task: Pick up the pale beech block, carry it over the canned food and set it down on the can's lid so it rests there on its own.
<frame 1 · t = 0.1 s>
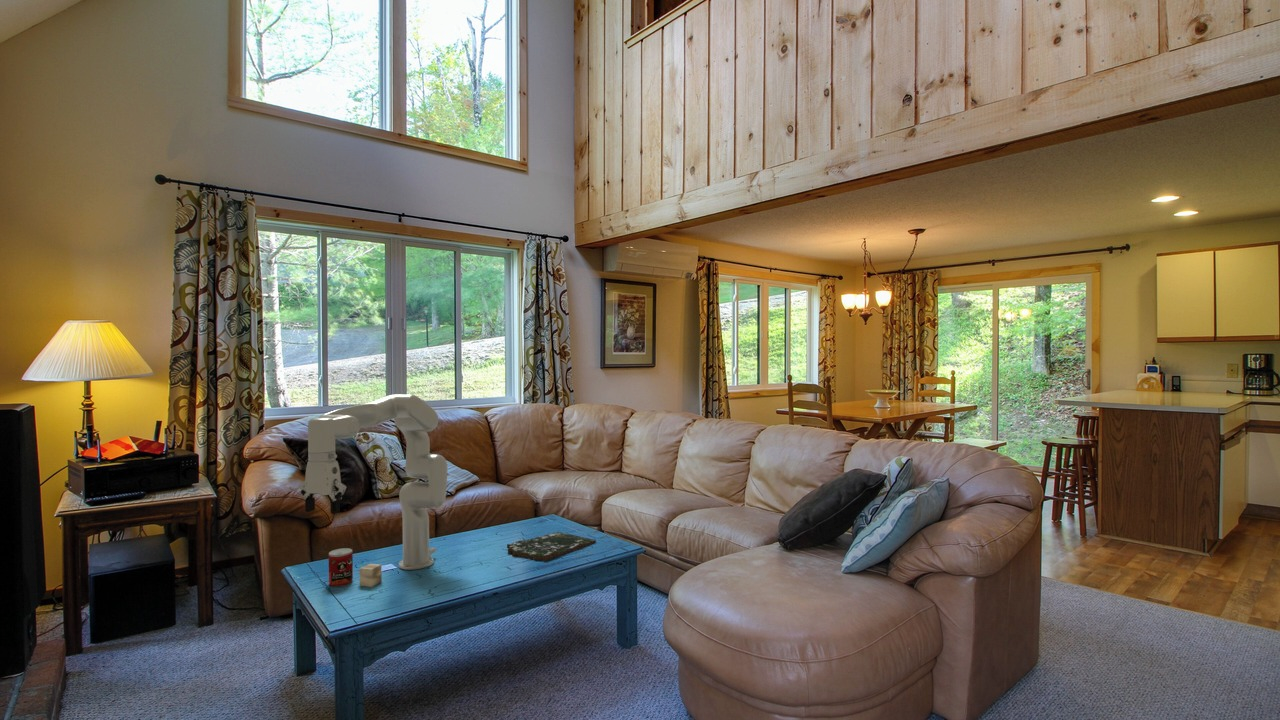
hand: (322, 511, 189), 31 cm above the table, fingers open, 9 cm apart
beech block: (370, 583, 213), on the table
topographical map: (546, 548, 253), on the table
canned food: (341, 583, 214), on the table
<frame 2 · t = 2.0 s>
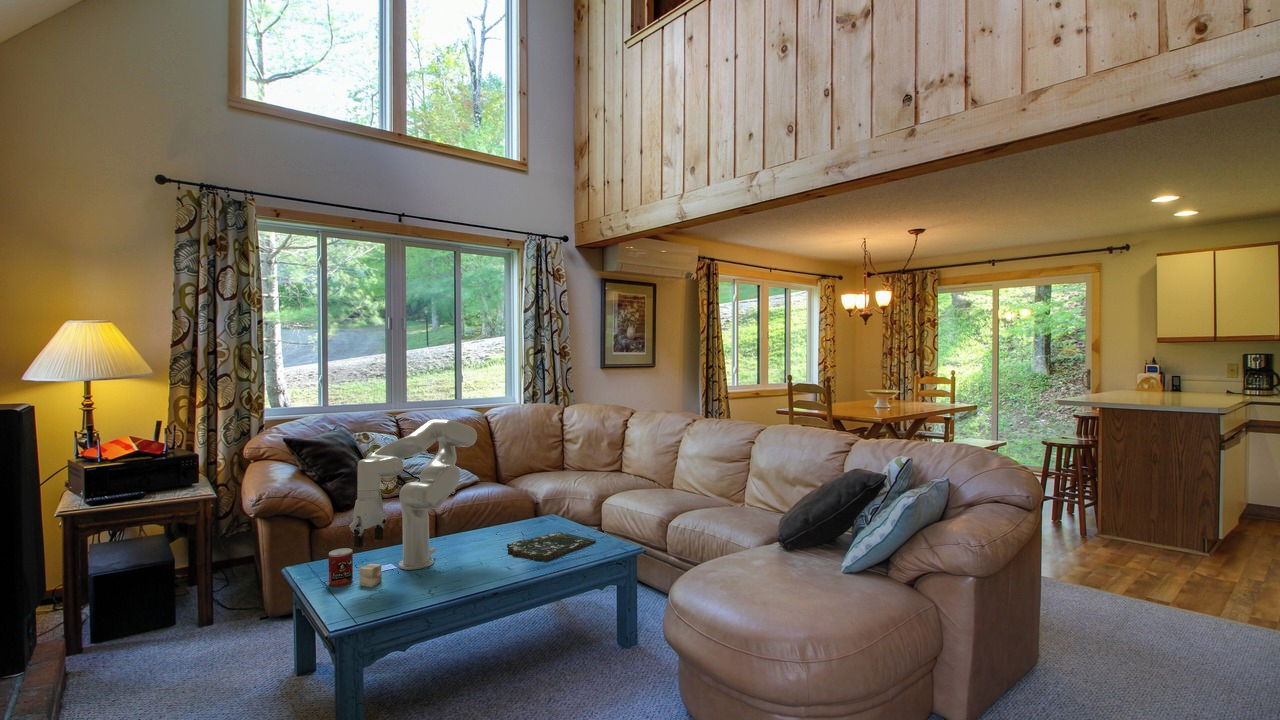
hand: (368, 543, 213), 14 cm above the table, fingers open, 9 cm apart
nothing on the table moved.
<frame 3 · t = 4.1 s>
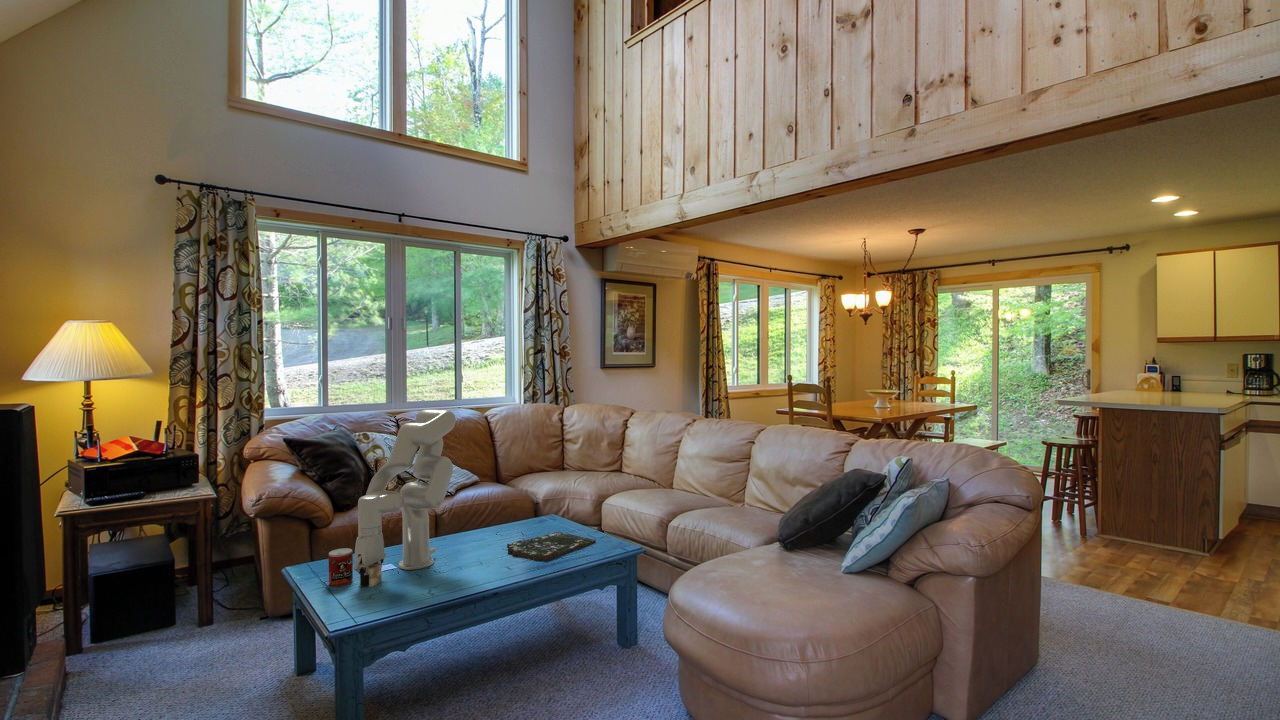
hand: (370, 582, 213), 0 cm above the table, fingers closed on beech block, 5 cm apart
beech block: (370, 583, 213), on the table, touching gripper
everything else where it was.
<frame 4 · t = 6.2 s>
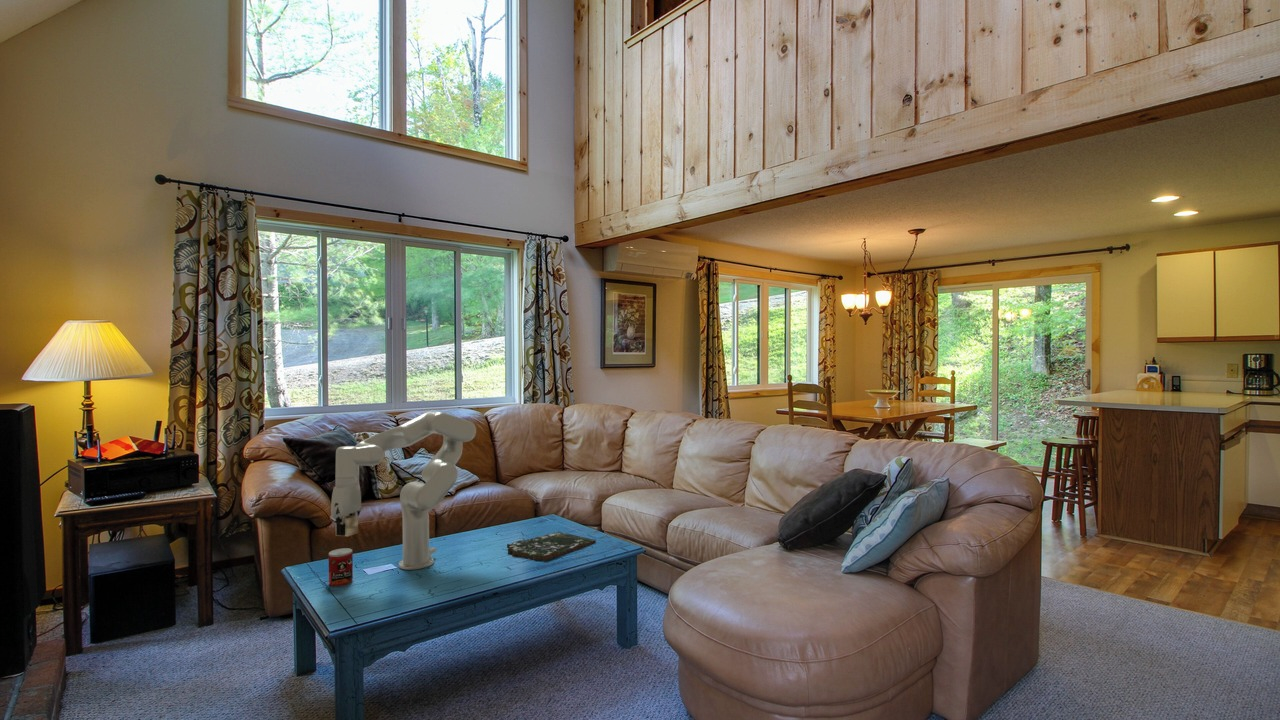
hand: (346, 532, 214), 18 cm above the table, fingers closed on beech block, 5 cm apart
beech block: (346, 534, 214), point 17 cm above the table, touching gripper
everything else where it was.
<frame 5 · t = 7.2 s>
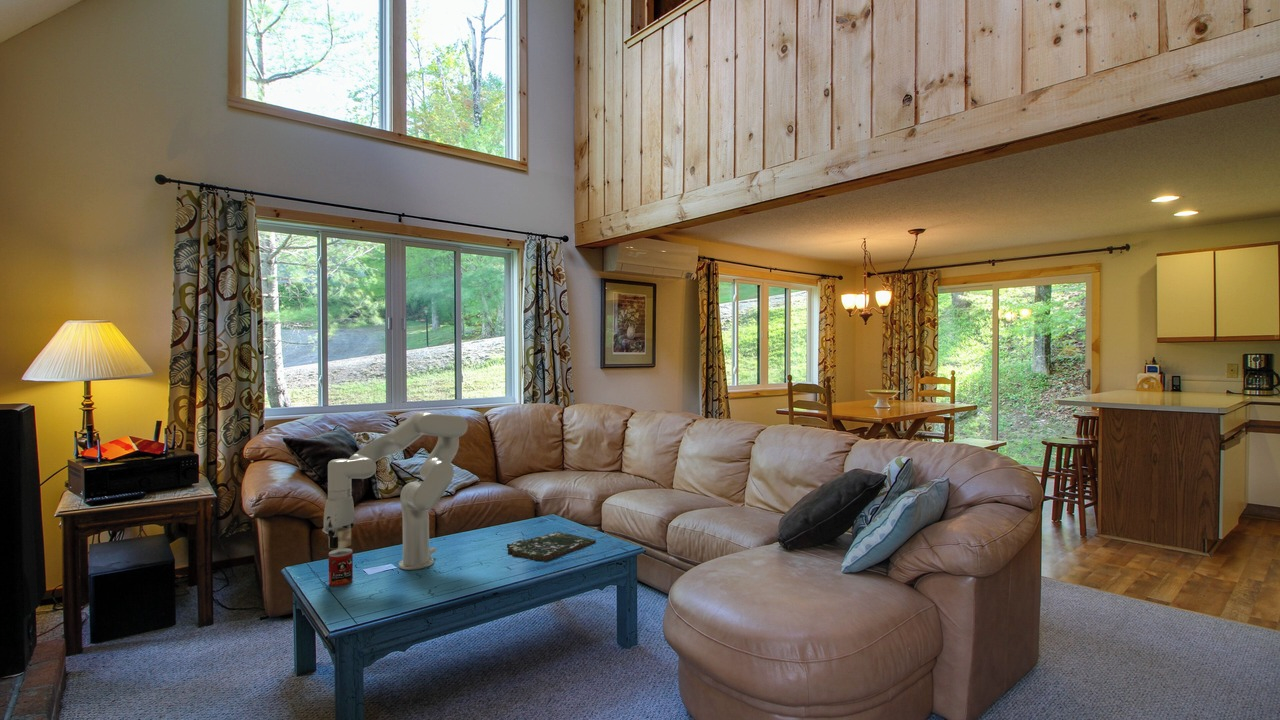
hand: (340, 545, 214), 13 cm above the table, fingers closed on beech block, 5 cm apart
beech block: (340, 546, 214), point 13 cm above the table, touching gripper
everything else where it was.
when the fingers open (13 cm above the table, at t = 8.1 s): beech block drops 1 cm, resting on canned food.
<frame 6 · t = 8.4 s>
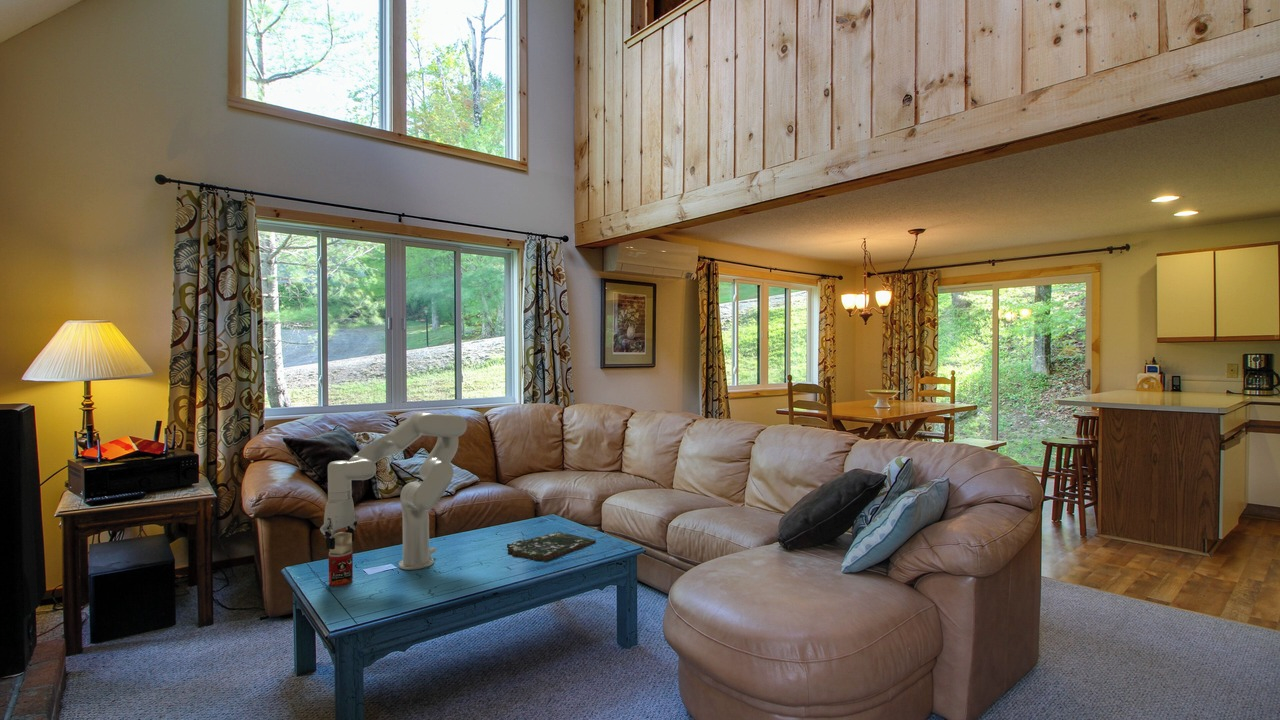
hand: (340, 544, 214), 13 cm above the table, fingers open, 8 cm apart
beech block: (340, 551, 214), point 11 cm above the table, touching canned food
canned food: (340, 583, 214), on the table, touching beech block
everything else where it was.
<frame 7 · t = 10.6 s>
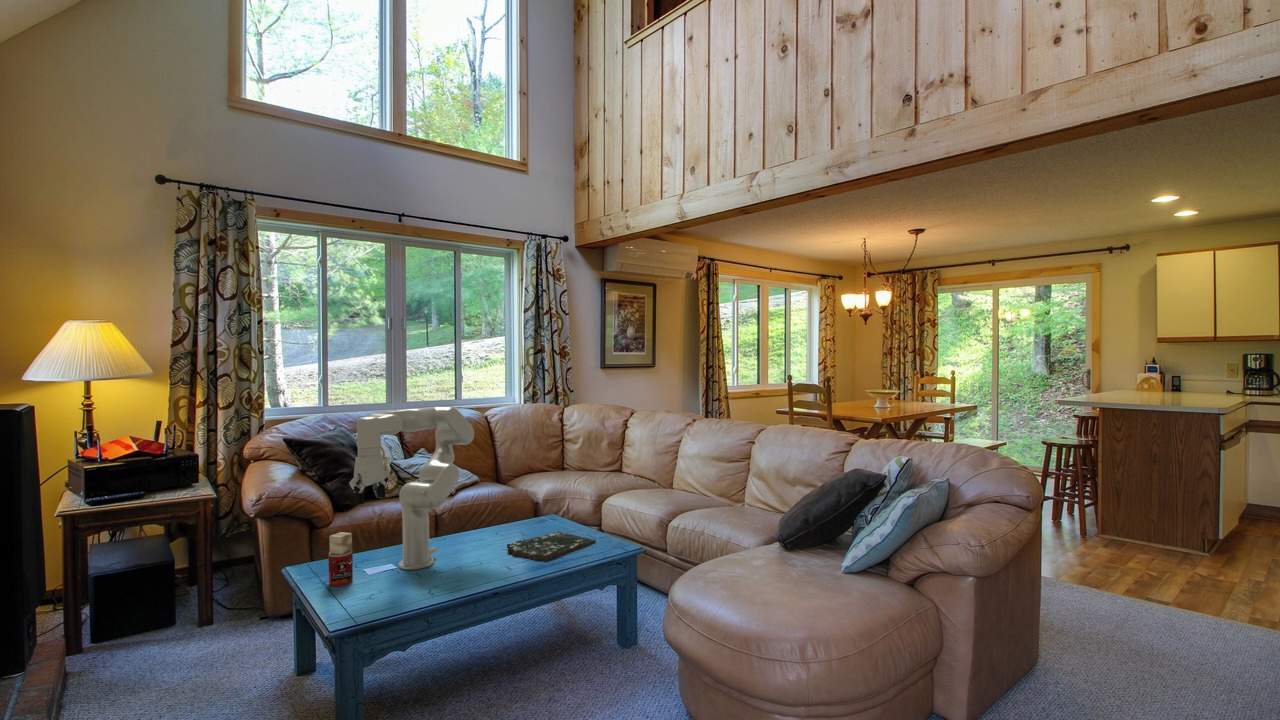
hand: (370, 500, 213), 29 cm above the table, fingers open, 9 cm apart
nothing on the table moved.
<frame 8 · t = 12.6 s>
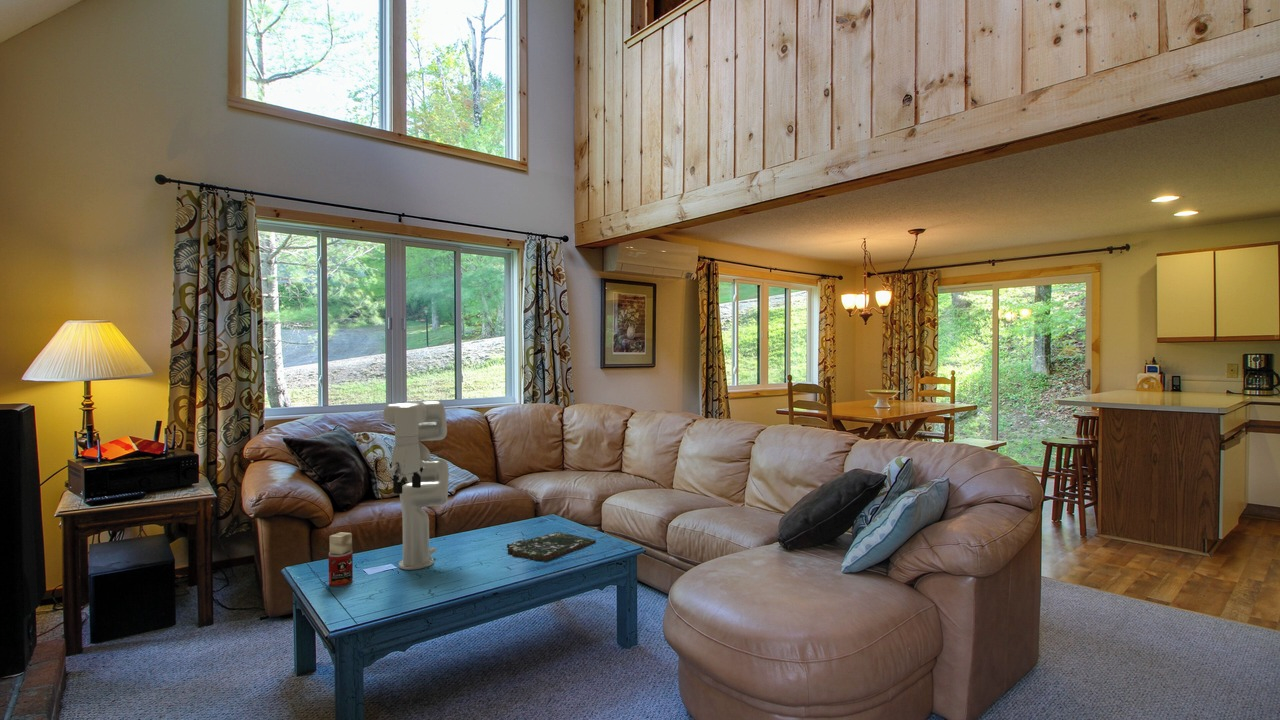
hand: (407, 490, 210), 33 cm above the table, fingers open, 9 cm apart
nothing on the table moved.
at the end: beech block inside the target area on the canned food (0.1 cm from its centre), point 11.2 cm above the canned food's base; beech block tilted 0°; beech block touching canned food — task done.
